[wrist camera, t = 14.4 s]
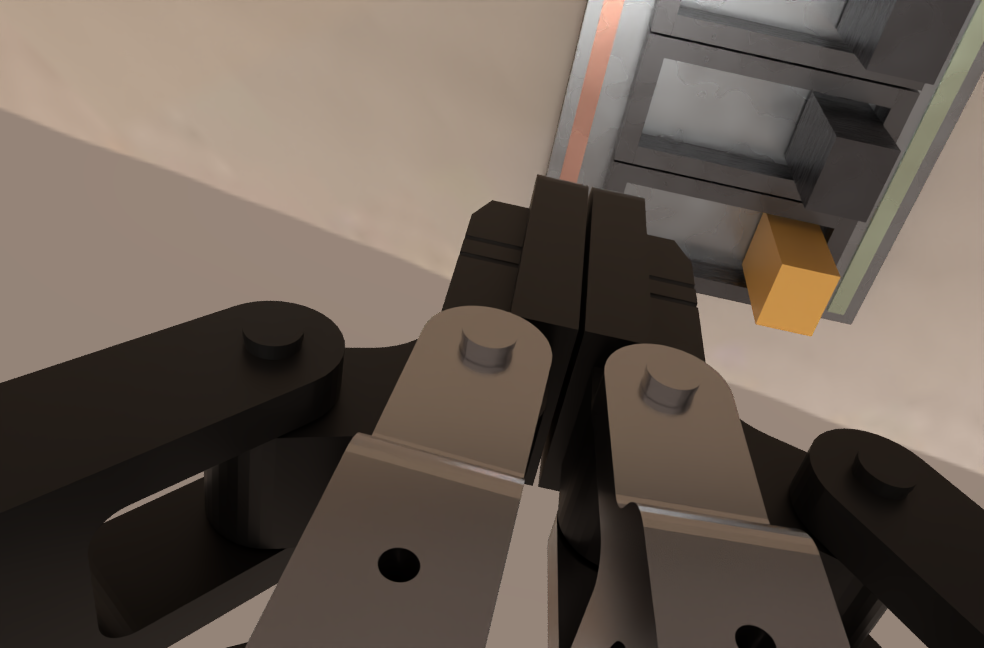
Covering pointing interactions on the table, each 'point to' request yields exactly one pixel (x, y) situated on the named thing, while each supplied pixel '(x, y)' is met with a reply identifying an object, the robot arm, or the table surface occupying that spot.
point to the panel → (768, 121)
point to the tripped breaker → (789, 274)
